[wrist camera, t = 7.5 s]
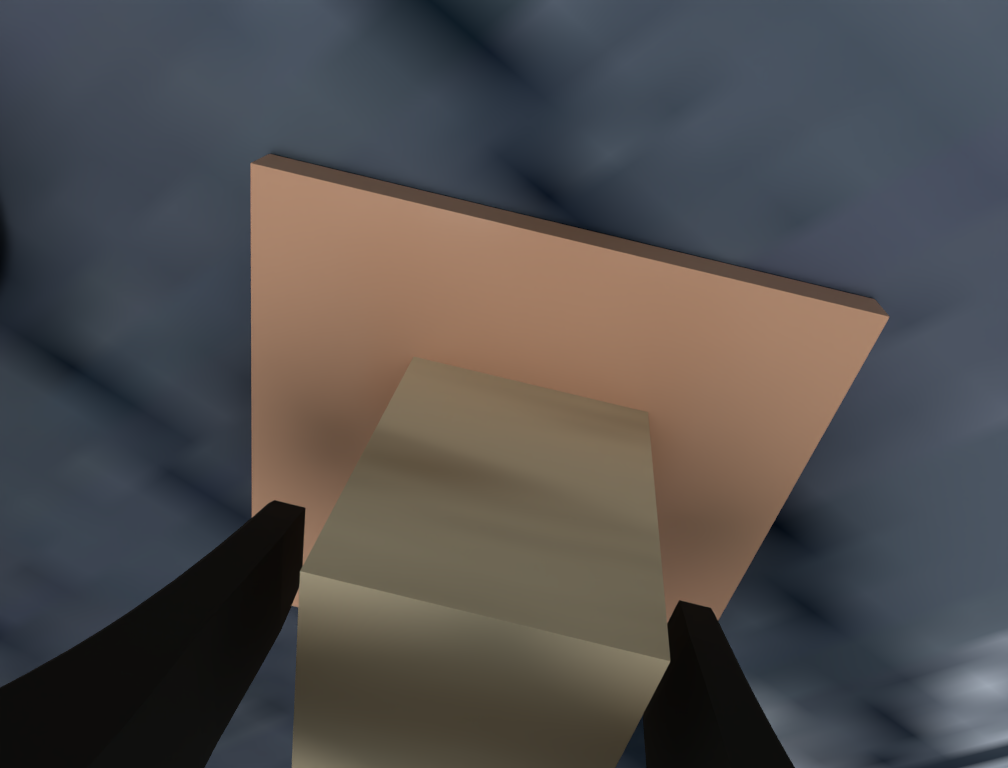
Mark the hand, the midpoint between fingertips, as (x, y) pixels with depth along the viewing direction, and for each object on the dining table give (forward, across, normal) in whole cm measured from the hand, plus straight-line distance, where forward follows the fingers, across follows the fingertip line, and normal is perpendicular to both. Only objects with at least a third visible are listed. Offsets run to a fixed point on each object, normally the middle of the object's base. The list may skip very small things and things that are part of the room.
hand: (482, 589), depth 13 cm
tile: (+4, 0, 0) cm, 4 cm away
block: (+3, 0, 0) cm, 3 cm away
